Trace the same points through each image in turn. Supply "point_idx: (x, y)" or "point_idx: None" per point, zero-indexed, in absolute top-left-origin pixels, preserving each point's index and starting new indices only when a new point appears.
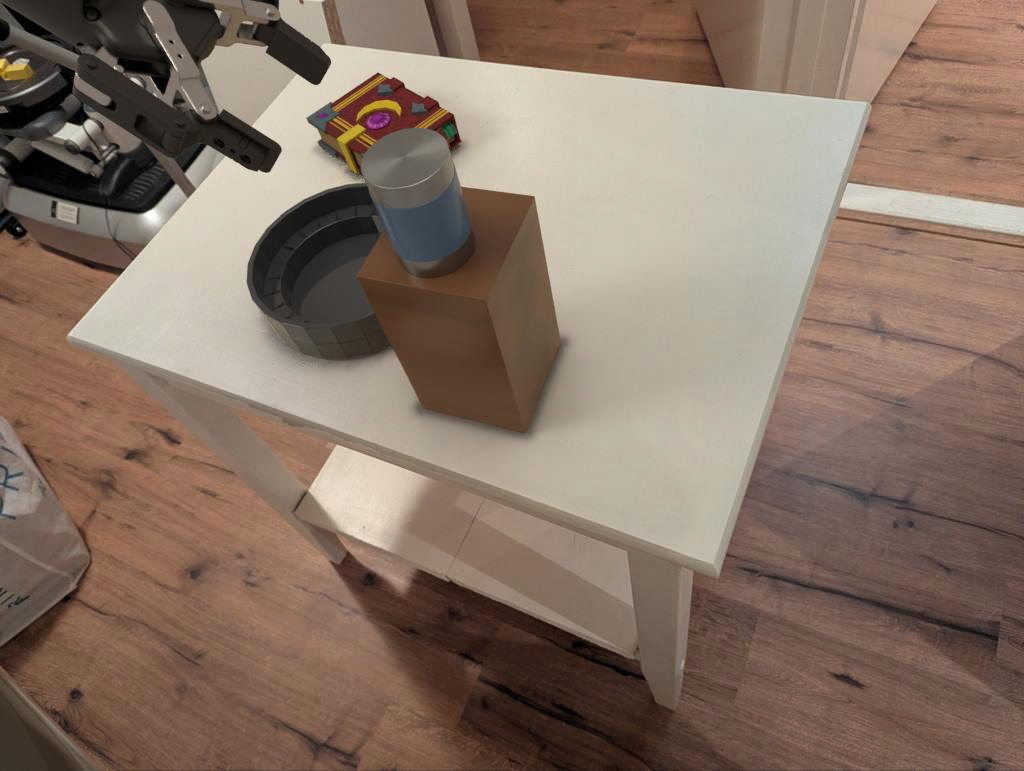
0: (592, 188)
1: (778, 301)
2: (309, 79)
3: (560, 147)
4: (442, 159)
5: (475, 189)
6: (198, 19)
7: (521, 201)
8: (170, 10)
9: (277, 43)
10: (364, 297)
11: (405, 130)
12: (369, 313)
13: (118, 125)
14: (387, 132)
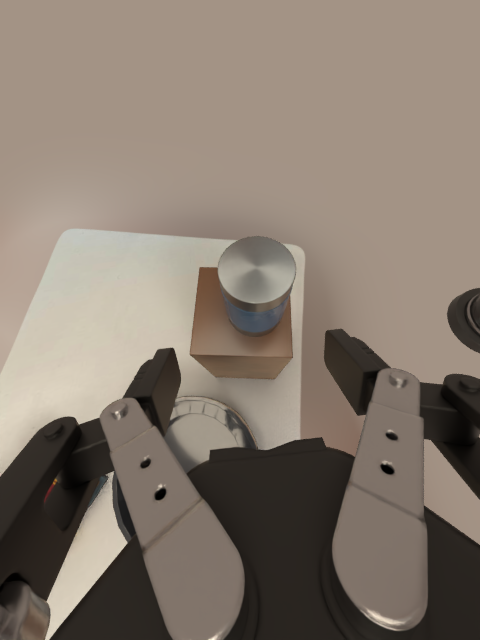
0: (108, 335)
1: (182, 242)
2: (178, 383)
3: (68, 365)
4: (254, 238)
5: (196, 305)
6: (238, 488)
7: (205, 272)
8: (275, 568)
9: (159, 406)
10: (206, 453)
11: (222, 279)
12: (239, 420)
13: None
14: (44, 501)
